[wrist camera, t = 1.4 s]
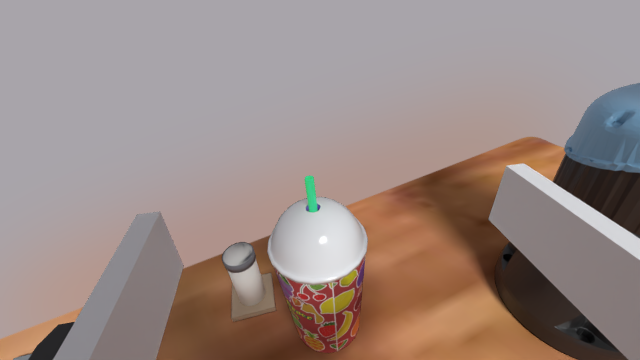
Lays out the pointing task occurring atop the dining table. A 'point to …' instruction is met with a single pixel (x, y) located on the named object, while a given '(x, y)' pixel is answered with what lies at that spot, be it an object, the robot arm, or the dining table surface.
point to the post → (248, 283)
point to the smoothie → (320, 269)
